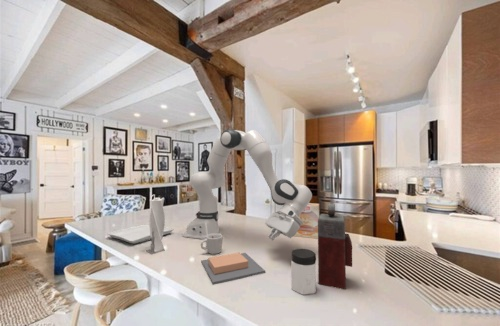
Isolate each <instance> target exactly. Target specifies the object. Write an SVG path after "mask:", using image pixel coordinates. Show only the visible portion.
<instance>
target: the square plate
mask: <svg viewBox="0 0 500 326" xmlns="http://www.w3.org/2000/svg"><path fill="white" fill-rule="evenodd" d="M174 229H175V228H171V227H167V226H164V232H163V236H165V235H168V234H170V233H172V232H173V231H174ZM106 234H107V235H109V237H111V238H115V239H117V240H120V241H124V242H127V243H129V244H139V242H140V243H144V242H146V240H147V241H149V239H150V240H151V236H150V225H149V223H146V224H141V225H135V226H130V227H126V228H122V229H118V230H114V231H111V232H110V231H109V232H107V233H106Z"/></svg>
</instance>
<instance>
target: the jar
mask: <svg viewBox="0 0 500 326" xmlns="http://www.w3.org/2000/svg"><path fill="white" fill-rule="evenodd" d="M316 261H317V257H316V253H315V251H313V250H311V249H307V248H295V249H293V250H291V262H290V265H291V266H290V267H291V268H290V269H291V271H290V272H291V273H290V274H291V275H290V277H291V283H290V284H291V285H290V286H291V290H293V292H294V291H295V292H297V293H298V294H301V295H303V296H304V295H311V294H315V293H317V292H316V290H317V289H316V283H317V282H316V278H317V276H316V272H317V271H316Z"/></svg>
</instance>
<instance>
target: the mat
mask: <svg viewBox="0 0 500 326" xmlns="http://www.w3.org/2000/svg"><path fill="white" fill-rule="evenodd" d="M240 254H241V255H242V256H243V257H245V258H246V259H247V260H248V268H243V269H238V270H233V271H228V272H224V273H219V274H214V273H213V271H212V269H211V268H210V266H209V264H208V259H203V260H200V261H201V262H200V263H201V265H202V266H203V268H204V270H205V273H206V274H207V277H208V278H209V279H210V282H211V283H212V285H216V284H221V283H226V282H230V281H235V280H239V279H244V278H247V277H252V276H257V275H262V274H266V270H265V269H264V268H263V267H262V266H260V264H258V263H257V262H256V261H255V260H254V259H253V257H251V256H249V255H248V253H247V252H242V253H240Z"/></svg>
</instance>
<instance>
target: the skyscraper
mask: <svg viewBox="0 0 500 326" xmlns="http://www.w3.org/2000/svg"><path fill="white" fill-rule="evenodd" d="M152 197H153V199H152ZM149 203H150V213H149V223H148V224H149V225H150V236H151V239H150V240H151V243H150V246H149V249H146V250H145V251H146V252H147V253H149V254H150V255H155V254H158V253H162V252H165V250H166V249H165V248H164V244H163V236H164V235H163V232H164V227H166V225H165V223H166V222H165V219H166V218H165V211H164V210H165V209H164V203H165V197H162V198H161V197H156V194H152V195H151V196H150V198H149Z"/></svg>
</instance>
